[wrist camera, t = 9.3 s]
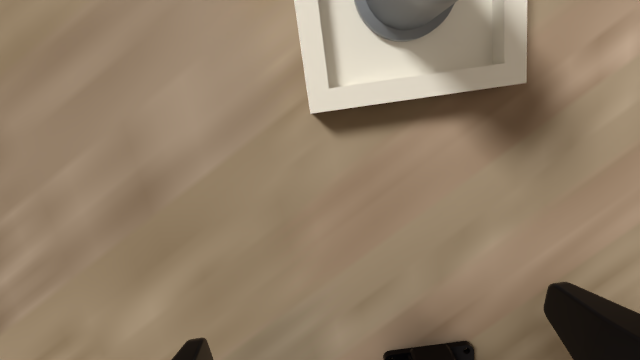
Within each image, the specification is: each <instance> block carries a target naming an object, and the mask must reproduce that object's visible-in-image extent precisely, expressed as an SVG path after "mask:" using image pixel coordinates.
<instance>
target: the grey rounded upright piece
mask: <svg viewBox="0 0 640 360" xmlns="http://www.w3.org/2000/svg"><path fill="white" fill-rule="evenodd" d="M457 1H458V0H354V3H355V6H356V9H357V12H358V14H359V16H360V18H361V19H362V21H363V22H364V24H365V25H366V26H367V27H368V28H369V29H370V30H371V31H372V32H373V33H375V34H376V35H378V36H380V37H382V38H384V39H387V40H390V41H396V42H406V41H412V40H416V39H418V38H421V37H423V36H425V35H427V34H428V33H430V32H431V31H433V30H434V29H436V28H437V27H438V26H439V25H440V24H441V23H442V22H443V21H444V20H445V19H446V17H447V16H448V15H449V13H450V11H451V10H452V8H453V6H454V4H455V2H457Z"/></svg>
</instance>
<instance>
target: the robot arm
mask: <svg viewBox="0 0 640 360" xmlns="http://www.w3.org/2000/svg"><path fill="white" fill-rule="evenodd" d="M544 312H545V315H546V317H547V319H548V320H549V322H550V323H551V325H552V326H553V328H554V330H555V331H556V333H557V334H558V336H559V337H560V339H561V340H562V342H563V344H564V345H565V347H566V348H567V350H568V351H569V353H570V355H571V356H572V358H573V359H574V360H640V314H639V313H637V312H634V311H632V310H630V309H628V308H625V307H623V306H621V305H619V304H616V303H614V302H612V301H610V300H607V299H605V298H603V297H600V296H598V295H596V294H594V293H591V292H589V291H587V290H585V289H582V288H580V287H578V286H576V285H573V284H571V283H568V282H560V283H553V284H550V285H549V287H548V290H547V294H546V298H545V303H544ZM465 348H467V349H465ZM464 349H465V350H464ZM389 358H392V359H389ZM172 360H213V357H212V354H211V351H210V348H209V345H208V343H207V340H206V339H205V338H197V339H190V340H188V341H187V342H186V343H185V344H184V345H183V347H182V348H181V349H180V350H179V351H178V353H177V354H176V355H175V356H174V357H173V359H172ZM383 360H474V349H473V347H472V345H471V344H470V343H469V342H467V341H461V342H453V343H446V344H438V345H430V346H423V347H415V348H407V349H400V350H392V351H387V352H386V353H385V354H384V355H383Z"/></svg>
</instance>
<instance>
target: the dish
mask: <svg viewBox="0 0 640 360" xmlns="http://www.w3.org/2000/svg"><path fill="white" fill-rule="evenodd" d="M294 3H295V10H296V17H297V24H298V31H299V38H300V45H301V52H302V59H303V66H304V73H305V80H306V87H307V94H308V101H309V108H310V114H312V113H319V112H326V111H333V110H340V109H347V108H354V107H361V106H368V105H375V104H382V103H389V102H396V101H403V100H410V99H417V98H424V97H431V96H438V95H445V94H452V93H459V92H466V91H473V90H480V89H487V88H494V87H501V86H508V85H515V84H522V83H527V0H458V1H457V2H455V4H454V6H453V8H452V10H451V11H450V13H449V15H448V16H447V17H446V19H445V20H444V21H443V22H442V23H441V24H440V25H439V26H438V27H437V28H436V29H434V30H433V31H431V32H430V33H428V34H427V35H425V36H423V37H421V38H418V39H416V40H412V41H406V42H396V41H390V40H387V39H384V38H382V37H380V36H378V35H376V34H375V33H373V32H372V31H371V30H370V29H369V28H368V27H367V26H366V25H365V24H364V22H363V21H362V19H361V18H360V16H359V14H358V12H357V9H356V6H355V3H354V0H294Z"/></svg>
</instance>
